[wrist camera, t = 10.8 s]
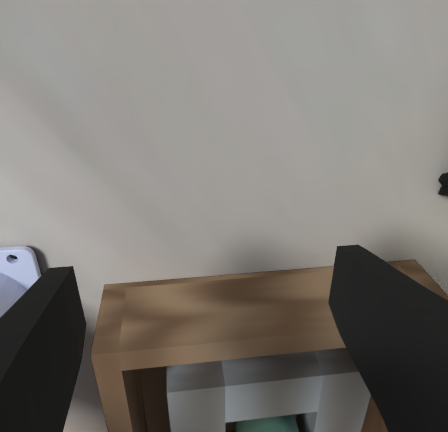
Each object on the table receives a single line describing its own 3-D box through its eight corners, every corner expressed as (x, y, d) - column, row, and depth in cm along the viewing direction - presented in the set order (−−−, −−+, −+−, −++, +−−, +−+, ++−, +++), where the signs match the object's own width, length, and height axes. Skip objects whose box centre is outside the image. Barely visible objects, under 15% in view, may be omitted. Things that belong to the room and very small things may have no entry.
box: (143, 499, 33) (141, 574, 29) (104, 284, 22) (90, 354, 18) (356, 469, 35) (383, 536, 31) (415, 259, 24) (468, 317, 20)
